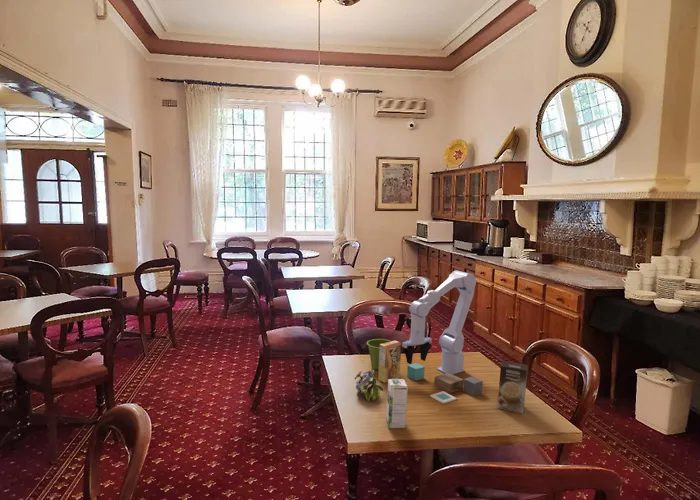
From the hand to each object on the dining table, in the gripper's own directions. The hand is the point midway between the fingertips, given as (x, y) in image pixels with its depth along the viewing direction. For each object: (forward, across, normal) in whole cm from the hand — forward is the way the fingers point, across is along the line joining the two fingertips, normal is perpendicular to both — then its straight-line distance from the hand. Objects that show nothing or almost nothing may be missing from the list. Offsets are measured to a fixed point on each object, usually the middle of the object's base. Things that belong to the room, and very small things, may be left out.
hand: (416, 361), depth 183 cm
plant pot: (+7, +7, -16) cm, 19 cm away
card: (+7, +4, +20) cm, 21 cm away
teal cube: (+7, 0, 0) cm, 7 cm away
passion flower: (+7, +27, +4) cm, 28 cm away
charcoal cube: (+7, -10, +22) cm, 25 cm away
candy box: (+7, +11, -4) cm, 14 cm away
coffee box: (+7, -12, +38) cm, 40 cm away
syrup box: (+7, +32, +26) cm, 42 cm away
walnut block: (+7, -5, +14) cm, 17 cm away
